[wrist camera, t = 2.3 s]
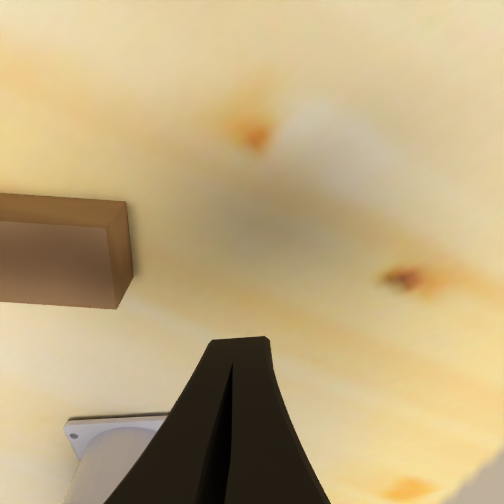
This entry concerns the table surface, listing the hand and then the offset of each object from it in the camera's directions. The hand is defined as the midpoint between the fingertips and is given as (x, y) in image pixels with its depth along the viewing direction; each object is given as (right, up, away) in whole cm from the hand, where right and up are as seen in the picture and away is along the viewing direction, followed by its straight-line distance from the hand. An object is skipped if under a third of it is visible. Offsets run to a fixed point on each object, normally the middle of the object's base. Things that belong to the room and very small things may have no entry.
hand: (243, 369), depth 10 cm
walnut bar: (-13, +4, +10) cm, 17 cm away
